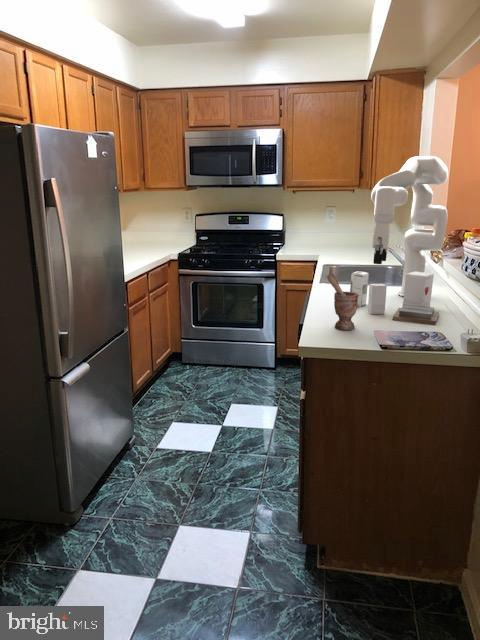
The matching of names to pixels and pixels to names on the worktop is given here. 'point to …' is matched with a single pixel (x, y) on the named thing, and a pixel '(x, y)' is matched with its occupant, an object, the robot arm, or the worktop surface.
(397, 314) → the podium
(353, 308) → the mortar and pestle
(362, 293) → the syrup box
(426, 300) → the supplement box
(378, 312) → the skincare box
